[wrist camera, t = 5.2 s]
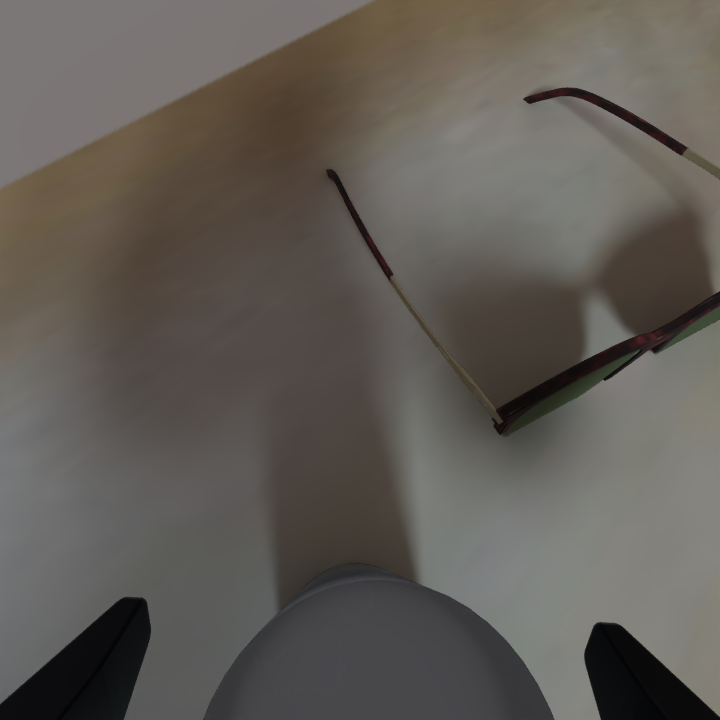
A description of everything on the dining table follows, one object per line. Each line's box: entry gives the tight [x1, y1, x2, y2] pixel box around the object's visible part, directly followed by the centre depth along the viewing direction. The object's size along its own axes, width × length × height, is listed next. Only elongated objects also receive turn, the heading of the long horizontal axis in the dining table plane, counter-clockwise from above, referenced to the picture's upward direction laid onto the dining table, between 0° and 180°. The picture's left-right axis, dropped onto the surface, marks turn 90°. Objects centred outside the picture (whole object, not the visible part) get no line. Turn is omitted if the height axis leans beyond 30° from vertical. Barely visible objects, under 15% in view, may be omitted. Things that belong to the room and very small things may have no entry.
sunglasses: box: [327, 88, 720, 437], centre depth 20 cm, size 14×15×5 cm
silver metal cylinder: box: [203, 563, 554, 720], centre depth 10 cm, size 5×5×10 cm
